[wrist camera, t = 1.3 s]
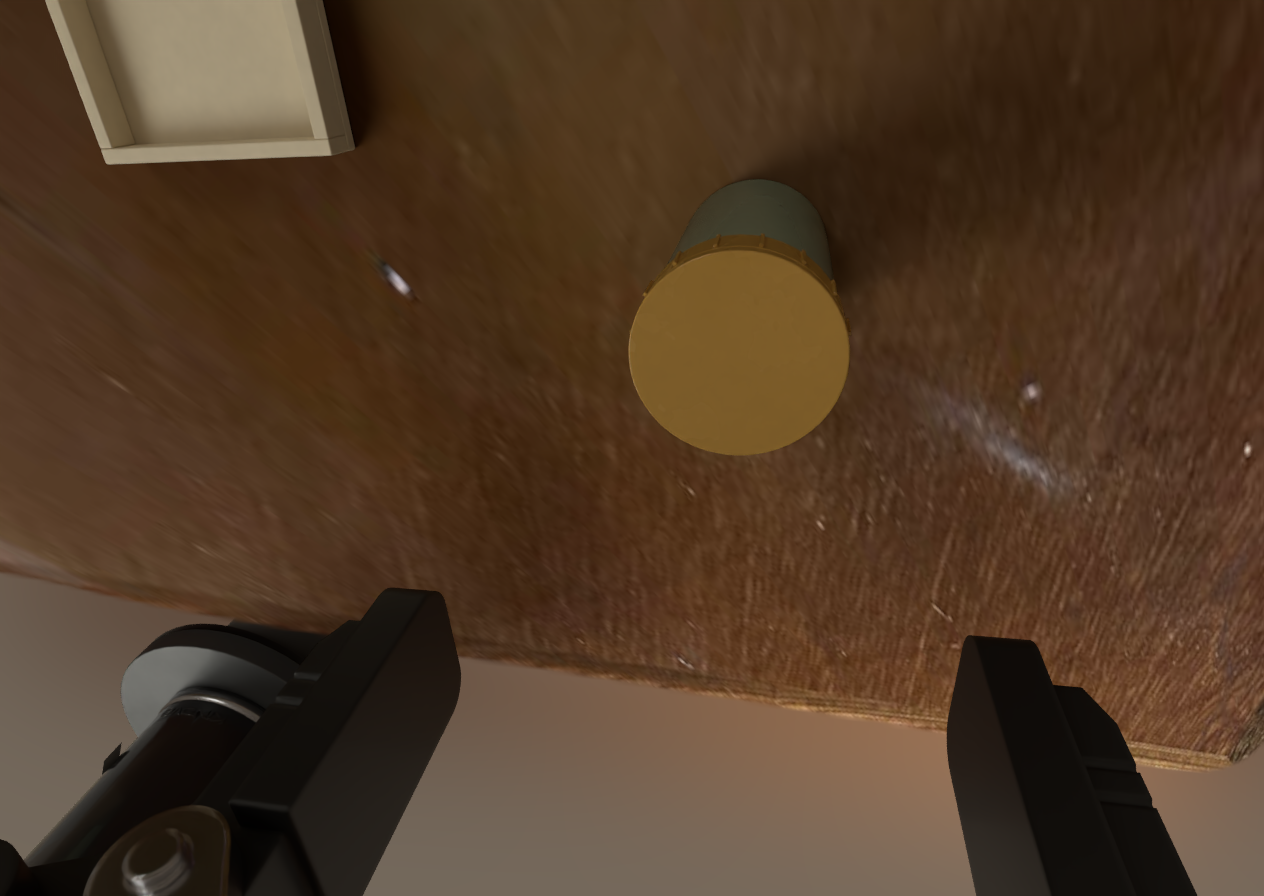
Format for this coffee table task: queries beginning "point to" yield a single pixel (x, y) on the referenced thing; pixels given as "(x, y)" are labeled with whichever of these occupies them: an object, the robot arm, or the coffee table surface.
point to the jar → (760, 219)
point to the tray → (205, 78)
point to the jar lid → (740, 345)
